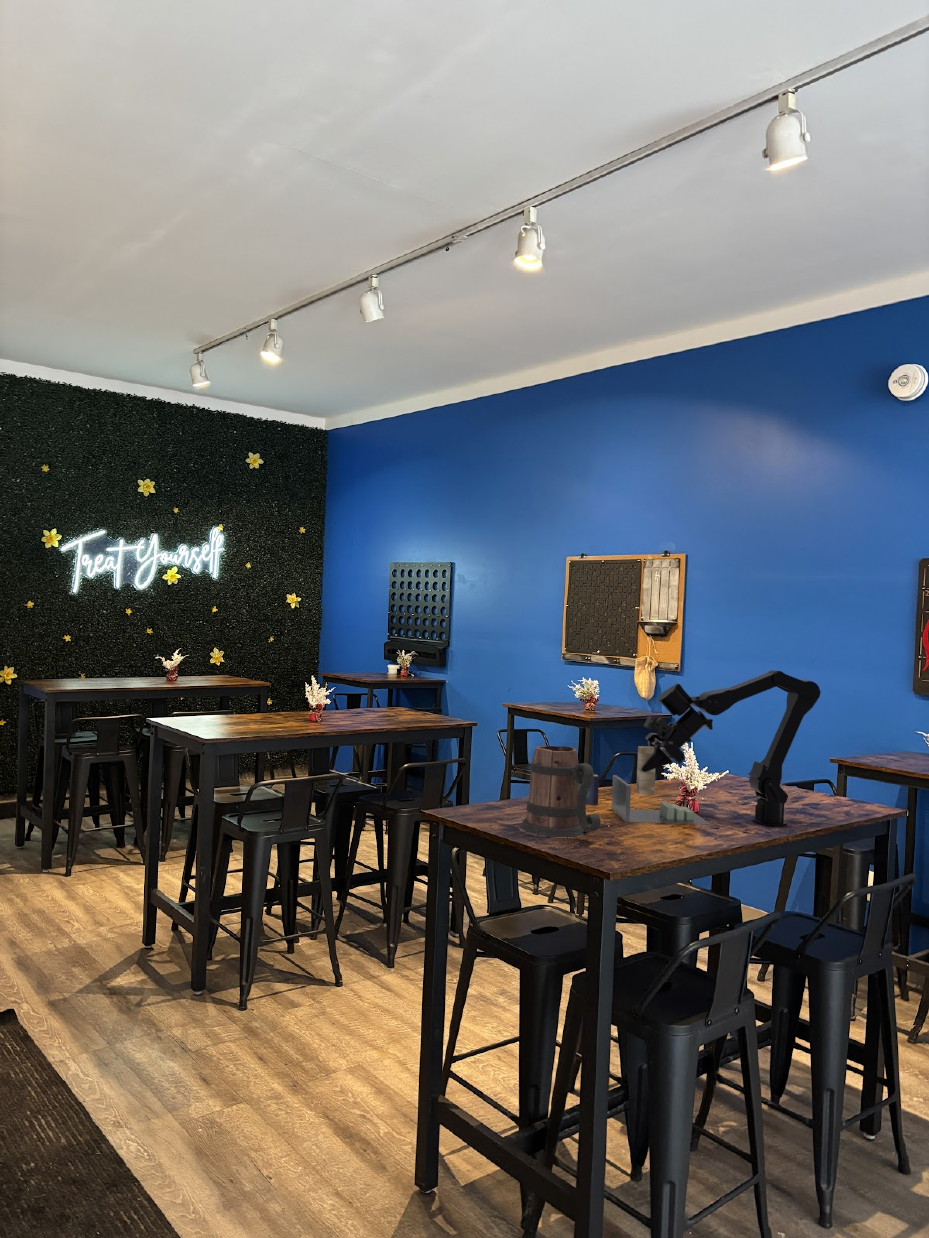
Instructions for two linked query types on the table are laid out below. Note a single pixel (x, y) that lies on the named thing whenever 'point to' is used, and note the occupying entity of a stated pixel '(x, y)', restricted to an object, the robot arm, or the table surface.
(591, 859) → the table surface
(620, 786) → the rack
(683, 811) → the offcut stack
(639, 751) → the birch block
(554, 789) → the tankard
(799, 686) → the robot arm
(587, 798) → the flask
